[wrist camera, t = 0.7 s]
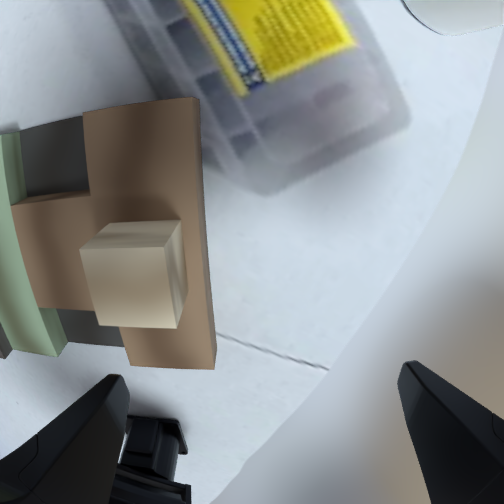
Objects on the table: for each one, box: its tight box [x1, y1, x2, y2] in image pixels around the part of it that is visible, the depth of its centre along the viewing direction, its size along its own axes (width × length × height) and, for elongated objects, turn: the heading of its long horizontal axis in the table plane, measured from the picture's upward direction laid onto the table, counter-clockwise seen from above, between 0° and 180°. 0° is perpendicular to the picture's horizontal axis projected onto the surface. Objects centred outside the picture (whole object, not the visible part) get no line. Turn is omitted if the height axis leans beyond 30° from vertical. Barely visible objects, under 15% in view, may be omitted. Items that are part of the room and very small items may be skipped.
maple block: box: [79, 220, 189, 329], centre depth 17 cm, size 4×4×4 cm
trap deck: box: [0, 97, 217, 370], centre depth 19 cm, size 20×18×4 cm
